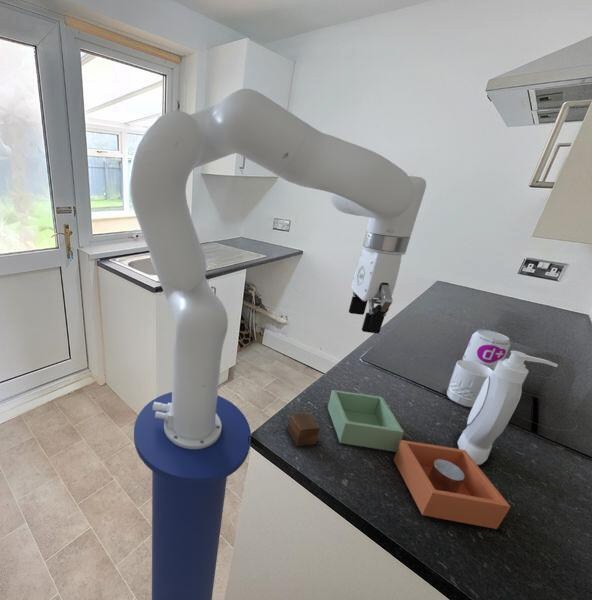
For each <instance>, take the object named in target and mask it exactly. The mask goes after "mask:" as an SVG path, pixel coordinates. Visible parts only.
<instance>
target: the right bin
mask: <svg viewBox="0 0 592 600" xmlns="http://www.w3.org/2000/svg"><path fill="white" fill-rule="evenodd" d="M438 459H442V460H446V461H449V462H451V463H453V464H454V465H456V466H457V467H458V468H460V469H461V471H462V472H463V473H464V480H463V482H462V484H461V486H460V488H459V490H458V492H457V493H452V492H446V491H440V490H435V489H434V487H433V485H432V484H431V482H430V480H429V479H428V475H429V473H430V471H431V468H432V466H433V464H434V462H435V461H436V460H438ZM393 462H394V464H395V466H396V467H397V469H398V472H399V473H400V476H401V477H402V479H403V481H404V483H405V485H406V487H407V489H408V490H409V493H410V494H411V496H412V498H413V500H414V502H415V505H416V507H417V508H418V510H419V512H420V514H421V515H422V516H425V517H430V518H436V519H441V520H446V521H452V522H456V523H461V524H462V523H463V524H468V525H473V526H478V527H484V528H489V529H494V530H498V528H499V527H500V525H501V524H502V522H503V521H504V519H505V517H506V515H507V514H508V513H509V510H510V509H511V505H510V504H509V503H508V501H507V499H506V498H504V497H503V495H502V494H501V492H500V491H499V490H498V489H497V488H496V487H495V485H494V483H492V482H491V480H490V479H489V478H488V477H487V476H486V474H485V473H484V472H483V471H482V469H481V468H480V467H479V465H477V464H476V463H475V462H474V461H473V459H472V458H471V457H470V456H469V454H468V453H467V452H466V451H465V450H462V449H461V450H460V449H459V448H455V447H448V446H443V445H436V444H429V443H423V442H418V441H417V442H416V441H411V440H406V439H405V440H404V439H401V442H400V444H399V447H398V450H397V452H395V455H394V457H393Z"/></svg>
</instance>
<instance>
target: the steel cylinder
mask: <svg viewBox="0 0 592 600" xmlns="http://www.w3.org/2000/svg"><path fill="white" fill-rule="evenodd" d="M428 479H429V480H430V482H431V484H432V485H433V487H434V489H435V490H440V491H446V492H452V493H457V492H458V490H459V488H460V486H461V484H462V482H463V480H464V473H463V472H462V471H461V469H460V468H458V467H457V466H456V465H454V464H453V463H451V462H449V461H446V460H442V459H438V460H436V461H435V462H434V464H433V466H432V468H431V471H430V473H429V475H428Z"/></svg>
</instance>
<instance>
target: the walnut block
mask: <svg viewBox="0 0 592 600" xmlns="http://www.w3.org/2000/svg"><path fill="white" fill-rule="evenodd" d="M289 416H290V417H289V422H288V427H287V432H288V434H289V436H290V437H291V439H292V440H293V442H294V444H295V445H296V446H297V447H301V446H310V445H316V444H317V441H318V437H319V433H320V429H321V427H320V426H319V425H318V423H317V422H316V421H315V420H314V418H313V417H312V415H311V414H310V413H309V412H307V413H299V414H298V413H297V414H290V415H289Z"/></svg>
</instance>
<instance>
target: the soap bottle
mask: <svg viewBox="0 0 592 600" xmlns="http://www.w3.org/2000/svg"><path fill="white" fill-rule="evenodd" d="M525 361H527V362H533V363H541V364H545V365H548V366H552V367H554V368H557V367H558V366H559V364H558V363H555V362H553V361H551V360H548V359H544V358H541V357H536V356H531V355H528V354H526V353H525V352H522V351H518V350H510V355H509V357H508V358H504V360H503V361H498V363H497V365H496V367H495V369H494V372H493V373H492V374H491V376H489V377H487V378H486V380H485V382H484V384H483V386H482V388H481V391H480V393H479V395H478V397H477V399H476V401H475V403H474V405H473V407H471V409H470V412H469V415H468V416H467V420H466V428H464V430H463V431H462V432H461V435H460V436H459V438H458V440H457V447H458V449H460V450H461V449H462V450H465V451H466V452H467V453H468V454H469V456H470V457H471V458H472V459H473V461H474V462H475V463H476V464H477V466H480V465H483V464H484V463H485V462H486V461H488V458H489V456H490V453H491V451H492V447H493V444H494V442H495V440H496V439H497V438H499V437H500V436H501V435H502V434H503V432H504V430H505V429H506V427H507V425H508V423H509V422H510V420H511V418H512V416H513V414H514V412H515V410H516V409H517V406H518V404H519V402H520V400H521V397H522V393H523V391H522V390H523V388H522V387H523V385H524V382H525V380H526V379H527V376H528V374H529V368H528V369H527V368H526V367H527V366H526V364H525Z"/></svg>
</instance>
